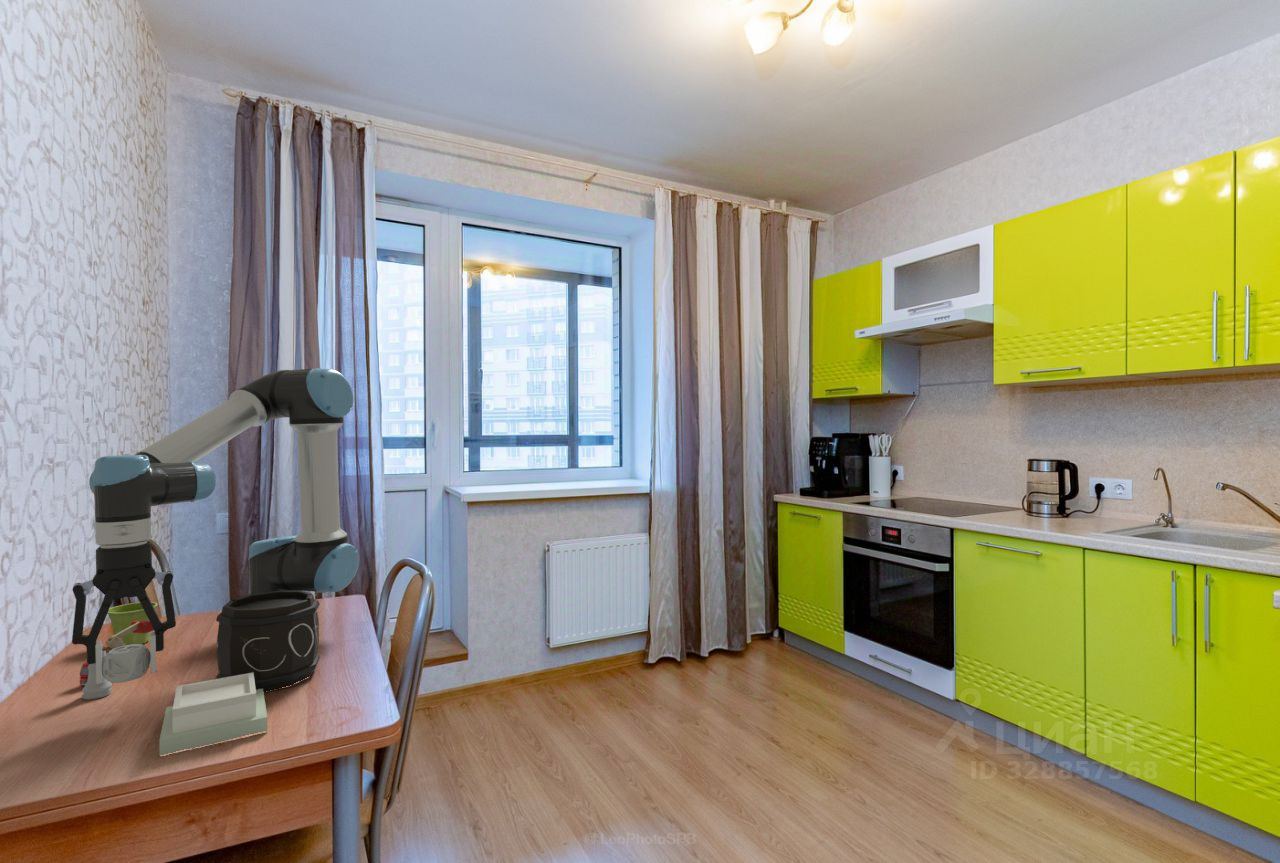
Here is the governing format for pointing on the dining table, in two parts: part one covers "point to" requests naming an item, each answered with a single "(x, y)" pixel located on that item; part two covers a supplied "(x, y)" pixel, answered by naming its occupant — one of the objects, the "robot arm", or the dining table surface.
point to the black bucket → (269, 638)
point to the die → (126, 663)
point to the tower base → (211, 730)
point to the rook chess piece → (95, 689)
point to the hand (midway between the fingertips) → (127, 675)
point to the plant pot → (129, 621)
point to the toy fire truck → (118, 643)
